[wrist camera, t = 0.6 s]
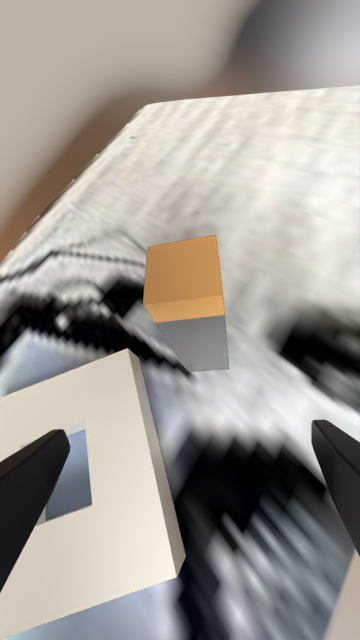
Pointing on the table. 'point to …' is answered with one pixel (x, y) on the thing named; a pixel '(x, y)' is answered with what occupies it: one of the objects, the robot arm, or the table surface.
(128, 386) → the socket block
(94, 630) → the table surface
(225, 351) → the plug
